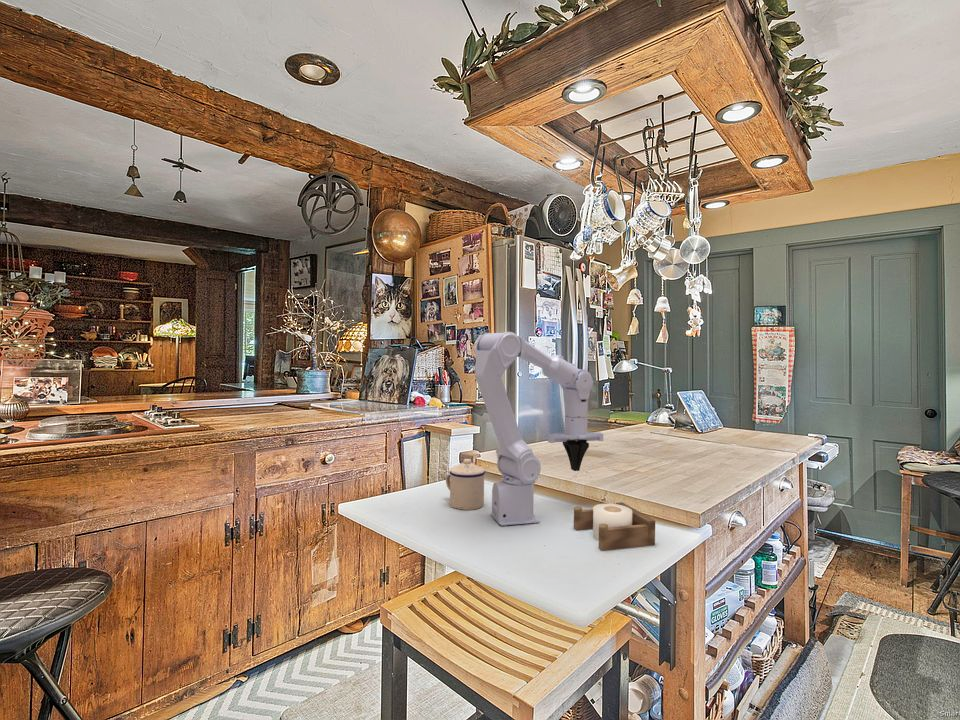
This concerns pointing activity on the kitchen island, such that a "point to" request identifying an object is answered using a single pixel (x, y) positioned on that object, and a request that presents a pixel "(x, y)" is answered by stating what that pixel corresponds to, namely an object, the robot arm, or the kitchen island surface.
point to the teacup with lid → (466, 486)
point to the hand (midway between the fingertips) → (575, 470)
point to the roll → (610, 516)
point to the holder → (618, 530)
